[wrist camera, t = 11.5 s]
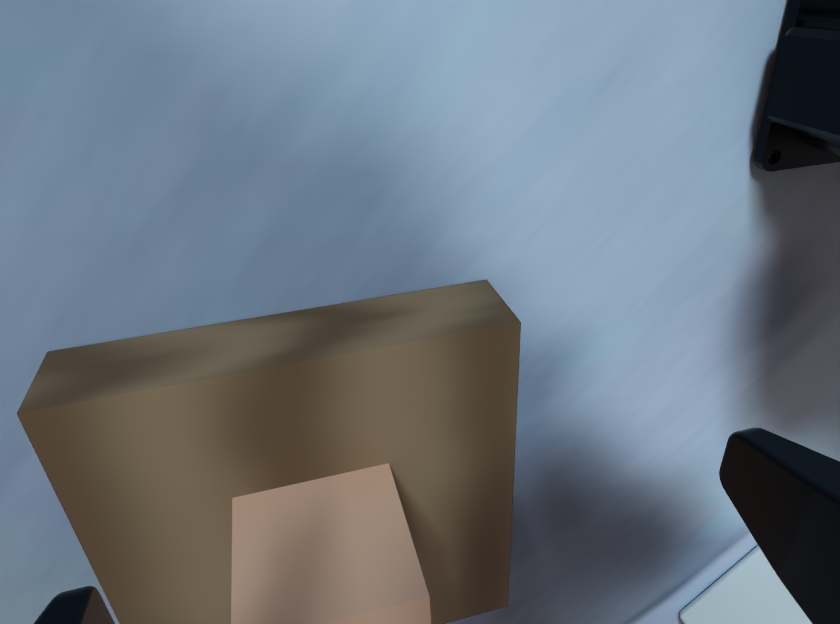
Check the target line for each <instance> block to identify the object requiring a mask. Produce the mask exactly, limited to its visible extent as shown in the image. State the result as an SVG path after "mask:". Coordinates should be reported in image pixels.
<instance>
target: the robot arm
mask: <svg viewBox="0 0 840 624" xmlns="http://www.w3.org/2000/svg"><path fill="white" fill-rule="evenodd" d="M772 152H773V154H772V156H771V157H770V158H769V156H770V154H771V153H772ZM768 158H769V159H768ZM834 162H840V0H791V1H790V5H789V9H788V14H787V18H786V22H785V26H784V31H783V35H782V39H781V43H780V48H779V52H778V56H777V60H776V65H775V69H774V73H773V77H772V82H771V86H770V90H769V94H768V99H767V103H766V107H765V111H764V116H763V120H762V124H761V128H760V133H759V137H758V141H757V145H756V150H755V154H754V163H755V165H756V166H757V167H758V168H760V169H763V170H766V171H777V170H784V169H792V168H799V167H806V166H813V165H820V164H827V163H834ZM719 475H720V481H721V483H722V486H723V488H724V490H725V491H726V493H727V495H728V496H729V498H730V500H731V501H732V503H733V505H734V506H735V508H736V509H737V511H738V513H739V514H740V516H741V518H742V519H743V521H744V523H745V524H746V526H747V527H748V529H749V531H750V532H751V534H752V536H753V537H754V539H755V541H756V542H757V544H758V545H759V547H760V549H761V550H762V552H763V554H764V555H765V557H766V559H767V560H768V562H769V563H770V565H771V567H772V568H773V570H774V571H775V573H776V574H777V576H778V577H779V579H780V580H781V582H782V583H783V584H784V586H785V587H786V589H787V590H788V591H789V593H790V594H791V596H792V597H793V598H794V600H795V601H796V602H797V604H798V605H799V606H800V608H801V609H802V610H803V612H804V613H805V614H806V616H807V617H808V618H809V620H810V621H811V623H812V624H840V462H839V461H837V460H834V459H832V458H830V457H827V456H825V455H823V454H820V453H818V452H816V451H813V450H811V449H809V448H806V447H804V446H802V445H799V444H797V443H795V442H792V441H790V440H787V439H785V438H783V437H780V436H778V435H776V434H773V433H771V432H769V431H766V430H764V429H761V428H750V429H746V430H742V431H737V432H734V433H733V434H732V435H731V436H730V437H729V439H728V442H727V445H726V449H725V452H724V456H723V460H722V463H721V467H720V471H719ZM34 624H115V623H114V621H113V619H112V617H111V615H110V613H109V611H108V609H107V607H106V605H105V603H104V601H103V599H102V597H101V595H100V593H99V591H98V590H97V589H96V588H95V587H93V586H87V587H83V588H78V589H74V590H70V591H66V592H63V593H60V594H58V595H57V596H56V597H55V598H53V599H52V601H51V602H50V603H49V604H48V606H47V607H46V608H45V610H44V611H43V612H42V613H41V615H40V616H39V617H38V619H37V620H36V621H35V623H34Z"/></svg>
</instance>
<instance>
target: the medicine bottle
mask: <svg viewBox="0 0 840 624" xmlns="http://www.w3.org/2000/svg"><path fill="white" fill-rule="evenodd" d="M679 616H680V619H681V620H682V622H683V623H684V624H812V623H811V621H810V620H809V618H808V617H807V616H806V614H805V613H804V612H803V610H802V609H801V608H800V606H799V605H798V604H797V602H796V601H795V600H794V598H793V597H792V596H791V594H790V593H789V591H788V590H787V589H786V587H785V586H784V584H783V583H782V582H781V580H780V579H779V577H778V576H777V574H776V573H775V571H774V570H773V568H772V567H771V565H770V563H769V562H768V560H767V559H766V557H765V555H764V554H763V552H762V550H761V549H760V547H759V545H758V546H756V547H755V548H754V549H753V550H752V551H750V552H749V553H748V554H747V555H746V556H745V557H743V558H742V559H741V560H740V561H739V562H738V563H736V564H735V565H734V566H733V567H732V568H731V569H729V570H728V571H727V572H726V573H725V574H723V575H722V576H721V577H720V578H719V579H718V580H716V581H715V582H714V583H713V584H712V585H711V586H709V587H708V588H707V589H706V590H705V591H704V592H702V593H701V594H700V595H699V596H698V597H696V598H695V599H694V600H693V601H692V602H691V603H689V604H688V605H687V606H686V607H685V608H684V609H682V610H681V611H680V615H679Z"/></svg>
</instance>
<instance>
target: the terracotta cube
mask: <svg viewBox="0 0 840 624" xmlns="http://www.w3.org/2000/svg"><path fill="white" fill-rule="evenodd" d="M231 624H431V612H430V596H429V593H428V590H427V586H426V583H425V580H424V577H423V573H422V570H421V567H420V564H419V560H418V557H417V554H416V550H415V547H414V544H413V541H412V537H411V534H410V531H409V528H408V524H407V521H406V518H405V514H404V511H403V508H402V505H401V501H400V498H399V495H398V492H397V488H396V485H395V482H394V478H393V475H392V472H391V469H390V465H389V463H387V464H383V465H378V466H374V467H369V468H365V469H360V470H356V471H351V472H347V473H342V474H338V475H333V476H329V477H324V478H320V479H315V480H311V481H306V482H302V483H297V484H293V485H288V486H284V487H279V488H275V489H270V490H266V491H262V492H257V493H253V494H248V495H244V496H239V497H235V498H232V584H231Z"/></svg>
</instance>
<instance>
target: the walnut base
mask: <svg viewBox="0 0 840 624" xmlns="http://www.w3.org/2000/svg"><path fill="white" fill-rule="evenodd" d="M520 331H521V322H520V321H519V319H518V318H517V317H516V316H515V314H514V313H513V312H512V311H511V309H510V308H509V307H508V306H507V304H506V303H505V302H504V301H503V299H502V298H501V297H500V296H499V294H498V293H497V292H496V291H495V289H494V288H493V287H492V286H491V284H490V283H489V282H488V281H487V280H482V281H476V282H470V283H463V284H457V285H451V286H445V287H439V288H433V289H427V290H421V291H415V292H409V293H403V294H397V295H390V296H384V297H378V298H372V299H366V300H360V301H354V302H348V303H342V304H336V305H330V306H323V307H317V308H311V309H305V310H299V311H293V312H287V313H281V314H275V315H269V316H263V317H257V318H250V319H244V320H238V321H232V322H226V323H220V324H214V325H208V326H202V327H196V328H190V329H184V330H177V331H171V332H165V333H159V334H153V335H147V336H141V337H135V338H129V339H123V340H117V341H110V342H104V343H98V344H92V345H86V346H80V347H74V348H68V349H62V350H56V351H50V352H47V353H46V356H45V358H44V360H43V362H42V364H41V366H40V368H39V370H38V372H37V374H36V376H35V378H34V380H33V382H32V384H31V386H30V388H29V390H28V392H27V394H26V396H25V398H24V400H23V402H22V404H21V406H20V408H19V410H18V412H17V415H18V417H19V419H20V421H21V423H22V426H23V428H24V430H25V432H26V434H27V436H28V438H29V440H30V442H31V444H32V446H33V448H34V450H35V452H36V454H37V456H38V458H39V460H40V462H41V464H42V466H43V468H44V470H45V472H46V474H47V477H48V479H49V481H50V483H51V485H52V487H53V489H54V491H55V493H56V495H57V497H58V499H59V501H60V503H61V505H62V507H63V509H64V511H65V513H66V515H67V517H68V519H69V521H70V523H71V525H72V527H73V530H74V532H75V534H76V536H77V538H78V540H79V542H80V544H81V546H82V548H83V550H84V552H85V554H86V556H87V558H88V560H89V562H90V564H91V566H92V568H93V570H94V572H95V574H96V576H97V578H98V580H99V583H100V585H101V587H102V589H103V591H104V593H105V595H106V597H107V599H108V601H109V603H110V605H111V607H112V609H113V611H114V613H115V615H116V617H117V619H118V621H119V623H120V624H231V584H232V498H235V497H239V496H244V495H248V494H253V493H257V492H262V491H266V490H270V489H275V488H279V487H284V486H288V485H293V484H297V483H302V482H306V481H311V480H315V479H320V478H324V477H329V476H333V475H338V474H342V473H347V472H351V471H356V470H360V469H365V468H369V467H374V466H378V465H383V464H387V463H389V465H390V469H391V472H392V475H393V478H394V482H395V485H396V488H397V492H398V495H399V498H400V501H401V505H402V508H403V511H404V514H405V518H406V521H407V524H408V528H409V531H410V534H411V537H412V541H413V544H414V547H415V550H416V554H417V557H418V560H419V564H420V567H421V570H422V573H423V577H424V580H425V583H426V586H427V590H428V593H429V596H430V612H431V624H445V623H448V622H452V621H455V620H459V619H462V618H466V617H470V616H473V615H477V614H480V613H484V612H488V611H491V610H495V609H498V608H502V607H505V606H508V592H509V570H510V549H511V527H512V505H513V483H514V461H515V440H516V418H517V396H518V374H519V353H520Z"/></svg>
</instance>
